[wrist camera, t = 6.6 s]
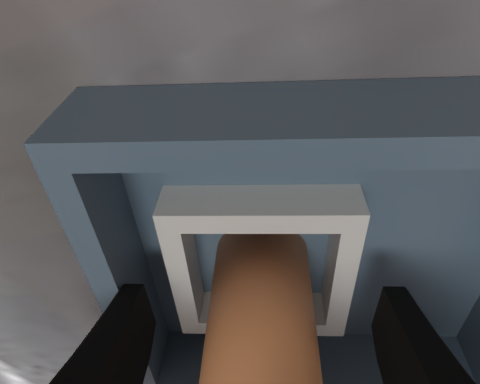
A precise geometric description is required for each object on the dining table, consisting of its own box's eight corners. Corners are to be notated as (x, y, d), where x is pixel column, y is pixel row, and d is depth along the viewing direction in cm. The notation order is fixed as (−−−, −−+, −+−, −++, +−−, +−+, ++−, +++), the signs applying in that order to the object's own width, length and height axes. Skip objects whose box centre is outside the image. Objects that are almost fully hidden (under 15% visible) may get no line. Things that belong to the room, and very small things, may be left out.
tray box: (616, 72, 9) (733, 132, 7) (463, 334, 17) (495, 405, 15) (77, 87, 10) (23, 144, 8) (157, 328, 18) (141, 394, 16)
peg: (324, 261, 13) (365, 513, 8) (252, 291, 15) (244, 526, 9) (273, 205, 12) (280, 469, 7) (198, 245, 13) (152, 492, 8)
